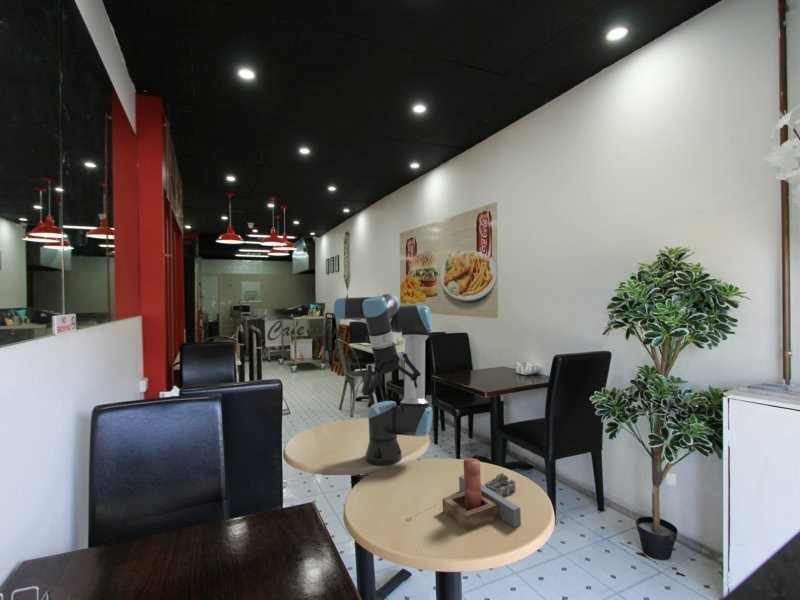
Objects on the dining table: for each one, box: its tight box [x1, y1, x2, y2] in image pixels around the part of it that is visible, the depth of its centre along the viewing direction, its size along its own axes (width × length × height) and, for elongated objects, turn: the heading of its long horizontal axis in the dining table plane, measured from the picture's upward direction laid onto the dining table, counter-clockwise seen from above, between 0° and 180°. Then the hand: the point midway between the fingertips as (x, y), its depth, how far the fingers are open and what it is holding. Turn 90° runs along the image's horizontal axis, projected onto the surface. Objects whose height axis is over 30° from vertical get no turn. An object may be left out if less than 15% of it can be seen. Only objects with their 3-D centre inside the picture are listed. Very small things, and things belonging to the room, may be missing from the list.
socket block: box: [442, 491, 500, 531], centre depth 121 cm, size 12×12×4 cm
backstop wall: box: [458, 474, 522, 528], centre depth 126 cm, size 26×2×5 cm, turn 28°
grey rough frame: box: [482, 472, 518, 497], centre depth 136 cm, size 11×8×4 cm
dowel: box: [463, 457, 482, 511], centre depth 122 cm, size 5×5×16 cm
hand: (396, 404), depth 132 cm, fingers open, 13 cm apart
